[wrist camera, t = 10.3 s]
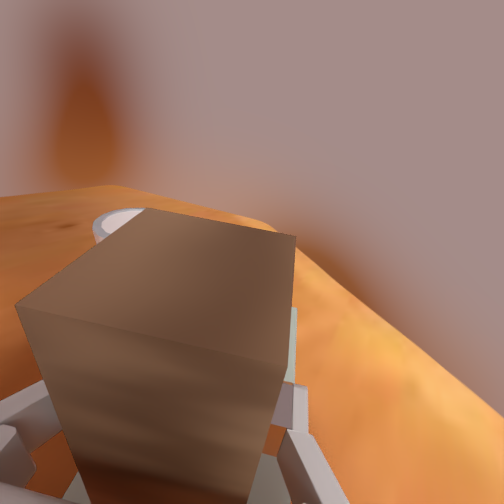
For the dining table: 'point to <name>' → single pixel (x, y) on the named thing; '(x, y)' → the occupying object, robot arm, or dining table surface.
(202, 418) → the walnut block
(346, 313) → the dining table surface
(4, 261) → the dining table surface
